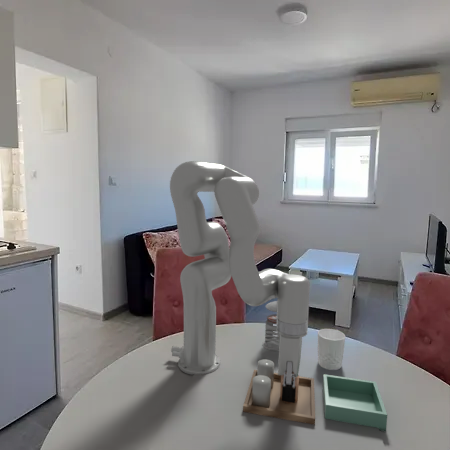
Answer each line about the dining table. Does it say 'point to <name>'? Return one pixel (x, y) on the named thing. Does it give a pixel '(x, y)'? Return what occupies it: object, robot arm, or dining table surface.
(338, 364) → the white cup
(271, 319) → the french press
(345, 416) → the bin
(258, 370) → the pebble
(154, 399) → the dining table surface
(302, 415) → the tray
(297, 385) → the brown smooth lump
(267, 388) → the pebble
